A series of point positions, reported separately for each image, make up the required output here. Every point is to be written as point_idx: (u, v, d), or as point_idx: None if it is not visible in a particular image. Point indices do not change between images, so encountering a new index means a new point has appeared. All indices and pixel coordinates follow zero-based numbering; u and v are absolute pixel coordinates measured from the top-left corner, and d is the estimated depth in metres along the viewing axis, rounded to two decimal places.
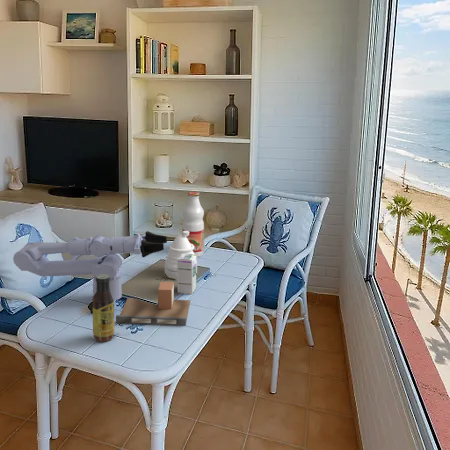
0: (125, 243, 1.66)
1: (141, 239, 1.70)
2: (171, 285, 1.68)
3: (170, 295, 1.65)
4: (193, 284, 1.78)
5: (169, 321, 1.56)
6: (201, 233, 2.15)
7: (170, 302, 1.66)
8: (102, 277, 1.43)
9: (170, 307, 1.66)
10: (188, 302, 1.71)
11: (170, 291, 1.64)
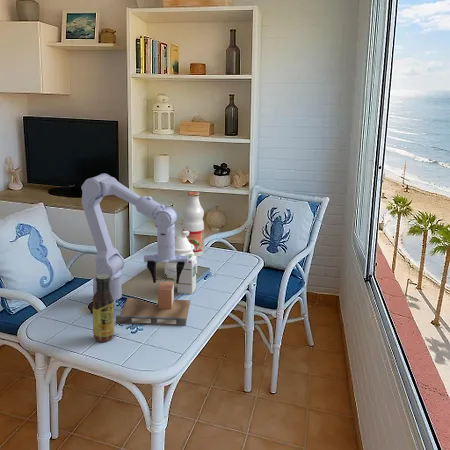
0: (157, 247, 1.62)
1: None
2: (171, 285, 1.68)
3: (170, 295, 1.65)
4: (193, 284, 1.78)
5: (169, 321, 1.56)
6: (201, 233, 2.15)
7: (170, 302, 1.66)
8: (102, 277, 1.43)
9: (170, 307, 1.66)
10: (188, 302, 1.71)
11: (170, 291, 1.64)
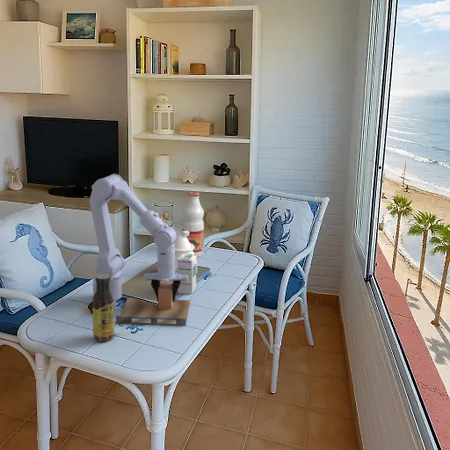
0: (158, 266, 1.64)
1: None
2: (171, 285, 1.68)
3: (170, 295, 1.65)
4: (193, 284, 1.78)
5: (169, 321, 1.56)
6: (201, 233, 2.15)
7: (170, 302, 1.66)
8: (102, 277, 1.43)
9: (170, 307, 1.66)
10: (188, 302, 1.71)
11: (170, 291, 1.64)
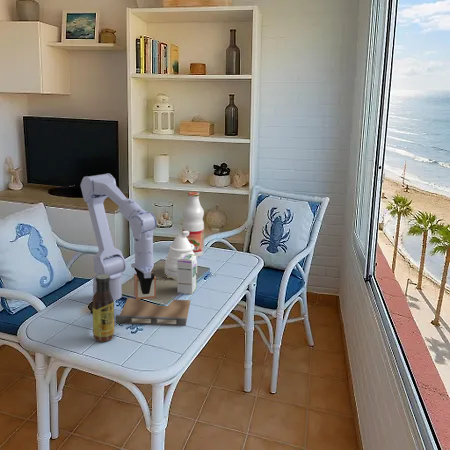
0: None
1: (142, 268, 1.55)
2: None
3: (135, 285, 1.56)
4: (193, 284, 1.78)
5: (169, 321, 1.56)
6: (201, 233, 2.15)
7: (135, 292, 1.57)
8: (102, 277, 1.43)
9: (135, 297, 1.58)
10: (188, 302, 1.71)
11: (135, 280, 1.56)
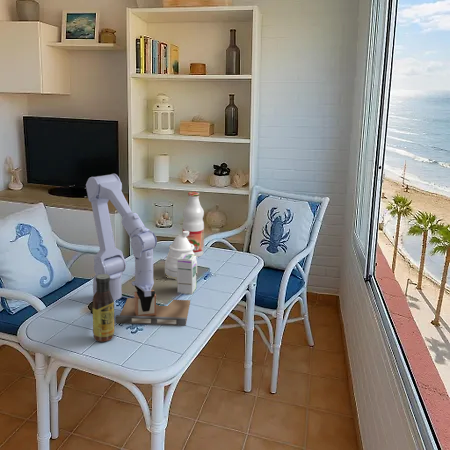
0: None
1: None
2: None
3: (136, 302, 1.58)
4: (193, 284, 1.78)
5: (169, 321, 1.56)
6: (201, 233, 2.15)
7: (136, 309, 1.59)
8: (102, 277, 1.43)
9: (136, 315, 1.59)
10: (188, 302, 1.71)
11: (136, 298, 1.58)
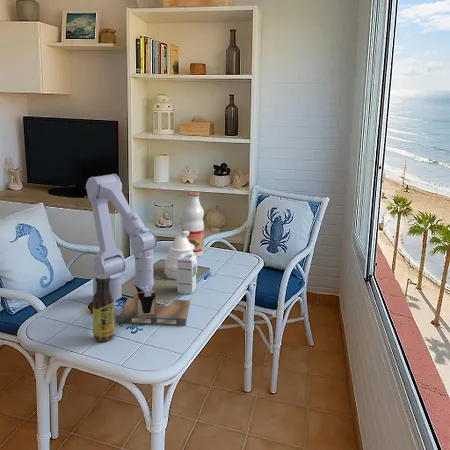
0: None
1: None
2: None
3: (135, 303, 1.58)
4: (193, 284, 1.78)
5: (169, 321, 1.56)
6: (201, 233, 2.15)
7: (135, 310, 1.59)
8: (102, 277, 1.43)
9: None
10: (188, 302, 1.71)
11: (135, 299, 1.58)
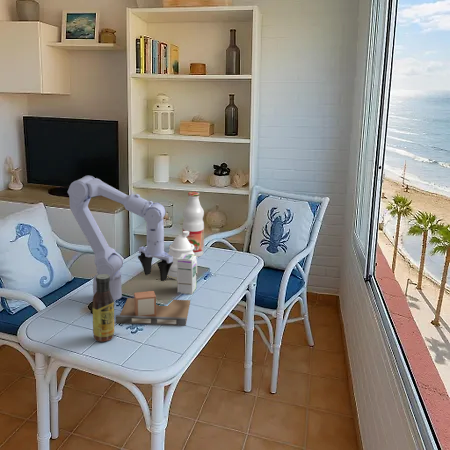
0: None
1: None
2: (146, 296, 1.59)
3: (135, 303, 1.58)
4: (193, 284, 1.78)
5: (169, 321, 1.56)
6: (201, 233, 2.15)
7: (135, 310, 1.59)
8: (102, 277, 1.43)
9: None
10: (188, 302, 1.71)
11: (135, 299, 1.58)
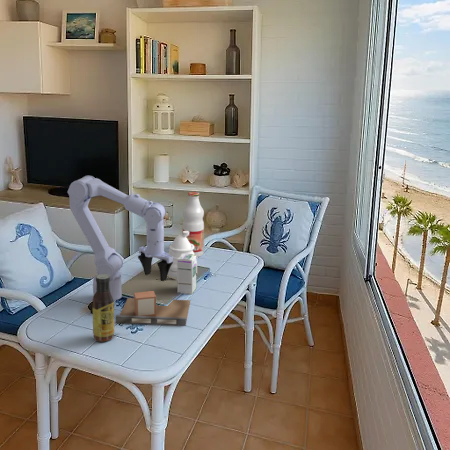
0: None
1: None
2: (146, 296, 1.59)
3: (135, 303, 1.58)
4: (193, 284, 1.78)
5: (169, 321, 1.56)
6: (201, 233, 2.15)
7: (135, 310, 1.59)
8: (102, 277, 1.43)
9: None
10: (188, 302, 1.71)
11: (135, 299, 1.58)
